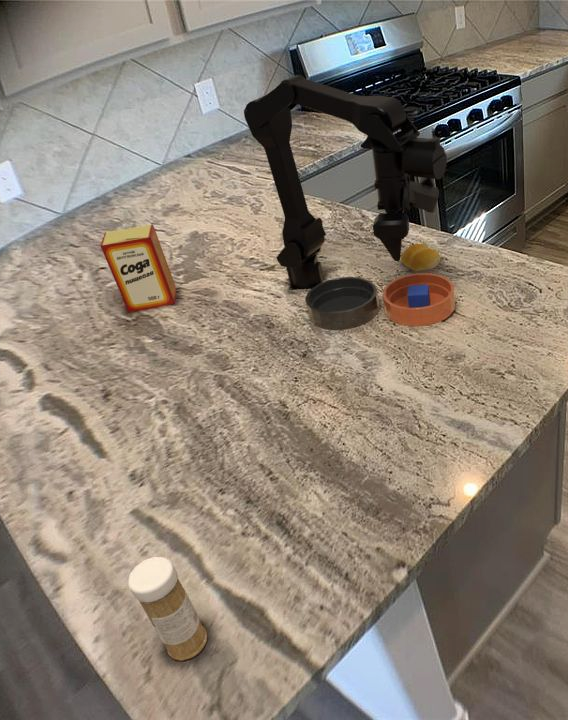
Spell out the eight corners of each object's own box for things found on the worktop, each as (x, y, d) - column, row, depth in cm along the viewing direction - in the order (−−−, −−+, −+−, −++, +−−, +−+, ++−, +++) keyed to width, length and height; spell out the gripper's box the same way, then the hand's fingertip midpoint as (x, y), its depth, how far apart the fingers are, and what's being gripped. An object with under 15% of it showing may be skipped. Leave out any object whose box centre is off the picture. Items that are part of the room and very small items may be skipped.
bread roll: (420, 276, 146) (418, 260, 143) (396, 263, 151) (394, 247, 149) (449, 263, 150) (447, 247, 148) (424, 251, 156) (423, 235, 153)
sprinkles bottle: (172, 630, 79) (132, 559, 71) (211, 622, 79) (175, 551, 71) (164, 666, 75) (122, 595, 67) (206, 658, 76) (168, 587, 68)
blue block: (409, 312, 133) (407, 295, 130) (410, 302, 136) (408, 285, 134) (429, 311, 133) (427, 294, 130) (430, 301, 136) (428, 284, 133)
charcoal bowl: (303, 334, 130) (298, 314, 127) (316, 297, 141) (312, 278, 139) (375, 330, 129) (372, 311, 126) (383, 293, 141) (380, 275, 138)
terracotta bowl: (382, 330, 129) (379, 310, 126) (389, 293, 141) (386, 274, 138) (454, 327, 129) (453, 307, 126) (455, 290, 140) (454, 271, 137)
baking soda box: (128, 312, 141) (99, 243, 131) (131, 297, 146) (104, 230, 136) (174, 303, 142) (149, 235, 133) (176, 289, 148) (152, 222, 138)
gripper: (432, 190, 113) (438, 271, 123) (437, 153, 128) (442, 227, 138) (367, 193, 114) (378, 273, 123) (379, 155, 129) (388, 229, 138)
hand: (399, 249), depth 130 cm, fingers open, 9 cm apart
